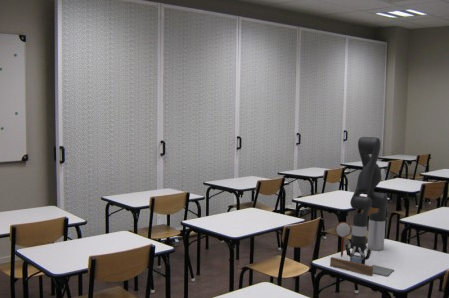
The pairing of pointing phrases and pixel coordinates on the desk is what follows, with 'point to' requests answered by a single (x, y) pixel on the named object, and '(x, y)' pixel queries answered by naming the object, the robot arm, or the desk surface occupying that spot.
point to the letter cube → (356, 259)
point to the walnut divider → (351, 266)
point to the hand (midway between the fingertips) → (357, 265)
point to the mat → (382, 270)
